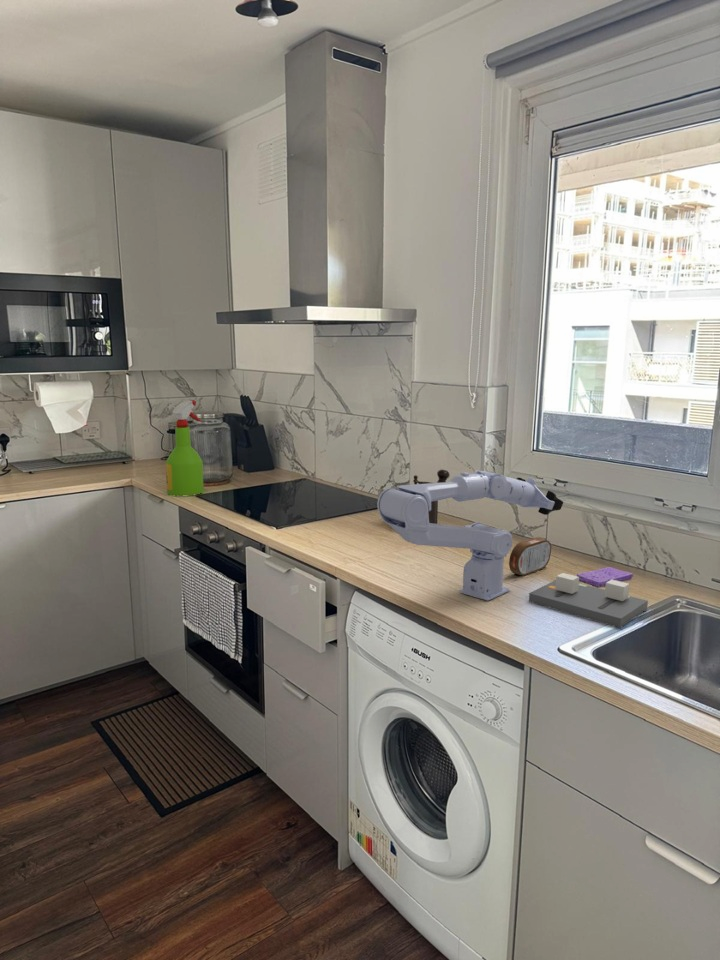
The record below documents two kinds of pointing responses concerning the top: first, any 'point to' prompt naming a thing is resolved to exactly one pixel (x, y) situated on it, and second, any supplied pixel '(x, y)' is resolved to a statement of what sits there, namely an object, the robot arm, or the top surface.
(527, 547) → the tin
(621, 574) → the sponges
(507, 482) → the robot arm
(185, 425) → the spray bottle
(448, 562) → the top surface
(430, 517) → the manual coffee grinder
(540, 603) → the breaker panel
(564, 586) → the off-white cube
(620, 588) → the block
